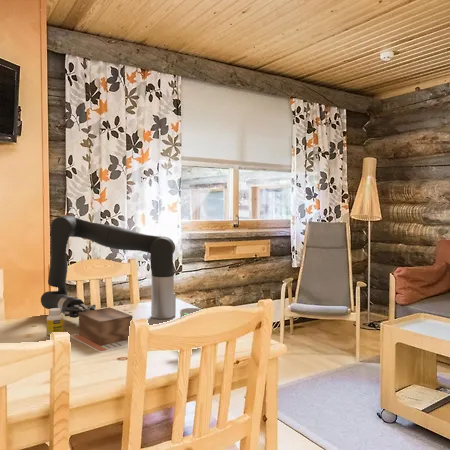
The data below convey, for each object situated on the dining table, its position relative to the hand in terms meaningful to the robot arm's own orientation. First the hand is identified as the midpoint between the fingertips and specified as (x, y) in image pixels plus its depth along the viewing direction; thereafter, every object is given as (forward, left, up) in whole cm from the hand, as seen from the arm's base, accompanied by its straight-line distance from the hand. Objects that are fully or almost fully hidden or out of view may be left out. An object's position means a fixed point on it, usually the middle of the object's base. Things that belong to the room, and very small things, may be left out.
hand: (91, 314), depth 165 cm
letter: (+1, +13, -6) cm, 14 cm away
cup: (-22, +32, -6) cm, 39 cm away
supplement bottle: (+13, -1, -6) cm, 14 cm away
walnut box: (0, +11, -6) cm, 12 cm away
